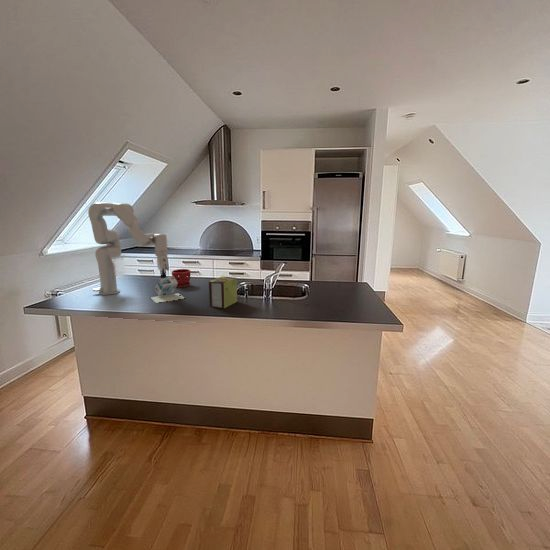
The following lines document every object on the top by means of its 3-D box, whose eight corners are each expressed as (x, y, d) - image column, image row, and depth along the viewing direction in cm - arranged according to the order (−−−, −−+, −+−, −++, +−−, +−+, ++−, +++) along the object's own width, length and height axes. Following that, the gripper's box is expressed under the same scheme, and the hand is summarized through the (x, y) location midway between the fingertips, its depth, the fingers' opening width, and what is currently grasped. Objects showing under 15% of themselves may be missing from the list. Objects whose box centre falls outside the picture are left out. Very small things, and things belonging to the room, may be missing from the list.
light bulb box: (158, 296, 190) (164, 286, 184) (154, 289, 192) (158, 278, 186) (173, 293, 198) (178, 283, 192) (168, 285, 200) (173, 275, 194)
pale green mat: (155, 303, 178) (155, 302, 177) (150, 297, 189) (150, 297, 189) (185, 298, 188) (185, 298, 188) (178, 293, 199) (178, 293, 199)
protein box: (237, 301, 184) (237, 277, 181) (224, 308, 170) (223, 282, 167) (223, 299, 188) (222, 275, 184) (209, 306, 174) (208, 281, 170)
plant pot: (176, 283, 227) (175, 268, 224) (193, 284, 226) (192, 269, 224) (169, 288, 214) (168, 272, 211) (187, 288, 213) (186, 272, 211)
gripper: (170, 253, 185) (173, 282, 189) (164, 251, 197) (166, 277, 201) (158, 254, 181) (161, 283, 185) (152, 252, 193) (154, 279, 197)
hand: (163, 280), depth 193 cm, fingers closed
